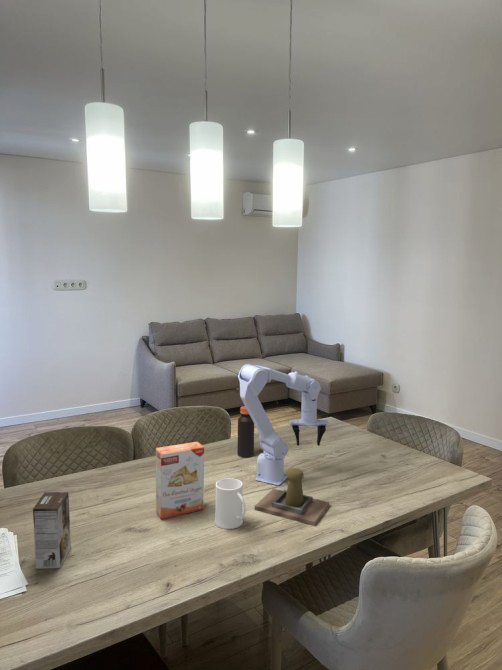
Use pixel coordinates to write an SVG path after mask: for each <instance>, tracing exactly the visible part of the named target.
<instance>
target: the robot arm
mask: <svg viewBox="0 0 502 670" xmlns="http://www.w3.org/2000/svg"><path fill="white" fill-rule="evenodd" d="M237 378H238V381H239V396H240V399H241V401H242V403H243V406H245V407H246V409H247V411H248V413H249V414H250V416H251V418H252V420H253V422H254V427H256V429H257V431H258V433H259V436H258V439H259V442H260V449H261V450H263V452H261V453H260V454H259V455H258V456H257V459H256V478H255V481H258V482H263V483H266V484H270V485H275V486H280V485H281V484H282V483H284V481H286V480H287V479H288V478H287V475H284V472H285V471H284V470H285V457H286V456H287V455H288V452H289V445H288V443H287V442H285V441H284V440H283V439H282V437H281V435H279V433H278V432H277V431H275V429H274V426H273V424H272V422H271V421H270V418H269V417H268V415H267V413H266V411H265V409H264V407H263V404H262V403H261V401H260V399H259V397H258V396H259V395H260V393H261V392H262V391H263V389H264V388H265V386H266V384H267V383H271V381H272V380H274V381H278V382H282V383H284V384H285V385H286V387H287V388H289V389H292V390H296V391H299V392H301V406H300V407H301V409H300V411H301V413H300V418H298V419H290V420H288V421H289V422H288V426H289V427H290V428H292V430H293V433H294V436H295V440H296V446H297V447H298V446H300V427H317V428H316V429H317V430H316V432H317V437H316V445H317V447H318V446H320V445H321V441H322V439H323V436H324V434H325V433H326V430H327V428H329V423H330V422H329V420H325V419H317V417H318V416H317V412H318V398H319V393H320V392H321V389H322V386H321V385H320V382H319V381H318V380H317V379H314V378H312V377H310V376H309V375H307V374H306V375H303V374H300V372H298V371H294V372H293V371H291V372H289V373H288V374H287V373H285V372H281V371H278V370H276V369H273V368H269V367H267V366H262V365H258V364H257V365H256V364H254V365H253V364H251V363H246V364H244V365H243V366H242V367H240V370H239V372H238V375H237Z"/></svg>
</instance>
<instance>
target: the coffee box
mask: <svg viewBox="0 0 502 670" xmlns="http://www.w3.org/2000/svg"><path fill="white" fill-rule="evenodd" d="M32 515H33V518H32V519H33V534H34V535H33V539H34V555H35V557H34V559H35V569H38V570H39V569H41V570H42V569H43V570H44V569H60V568H61V569H62V566H63V564H64V562H65V560H66V559H67V556H68V554H69V552H70V550H71V548H72V546H71V542H72V541H71V522H70V521H71V519H70V518H71V517H70V516H71V515H70V499H69V491H65V492H64V491H63V492H62V491H46V492H44V493H43V494H42V495H41V497H40V498H39V500H38V501H37V502H36V504H35V505H34V507H33V508H32Z"/></svg>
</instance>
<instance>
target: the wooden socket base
mask: <svg viewBox="0 0 502 670" xmlns="http://www.w3.org/2000/svg"><path fill="white" fill-rule="evenodd" d="M286 493H287V489H286V490H285V489H284V490H280V489H276V488H272V489H270V491H269V492H268V493H266V495H265V496H264V497H262V498H261V500H259V501H258V502H257V503H256V504H255V505H254V511H258V512H262V513H266V514H268V515H269V514H270V515H273V516H276V517H280V518H283V519H288V520H291V521H295V522H299V523H302V524H306V525H310V526H313V527H315V526H316V524H317V523H318V522H319V520H320V519H321V518H322V516H323V515H324V513H326V511H327V510H328V508H329V507H330V501H325V500H321V499H318V498H314V497H313V496H310V495H306V494H303V499H304V504H303V506H301V507H292V506H288V505H286V504H285V500H286Z"/></svg>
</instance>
